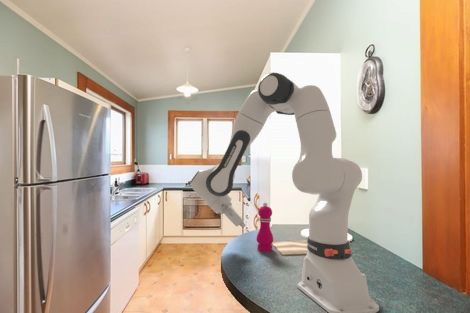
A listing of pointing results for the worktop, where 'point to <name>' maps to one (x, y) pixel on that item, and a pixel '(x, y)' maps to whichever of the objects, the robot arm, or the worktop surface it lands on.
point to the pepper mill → (265, 229)
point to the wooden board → (291, 247)
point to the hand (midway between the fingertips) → (243, 226)
